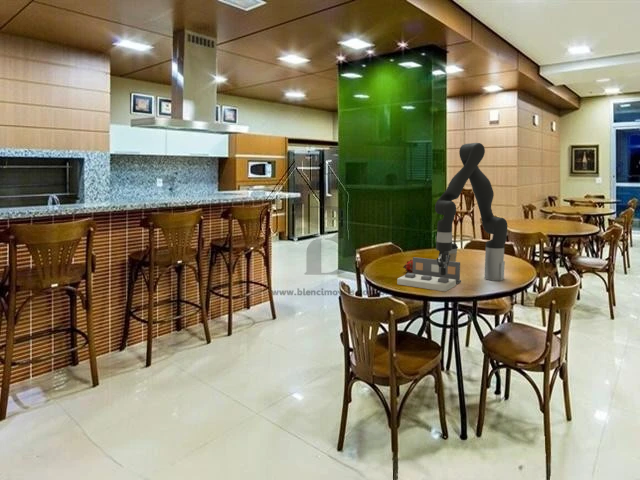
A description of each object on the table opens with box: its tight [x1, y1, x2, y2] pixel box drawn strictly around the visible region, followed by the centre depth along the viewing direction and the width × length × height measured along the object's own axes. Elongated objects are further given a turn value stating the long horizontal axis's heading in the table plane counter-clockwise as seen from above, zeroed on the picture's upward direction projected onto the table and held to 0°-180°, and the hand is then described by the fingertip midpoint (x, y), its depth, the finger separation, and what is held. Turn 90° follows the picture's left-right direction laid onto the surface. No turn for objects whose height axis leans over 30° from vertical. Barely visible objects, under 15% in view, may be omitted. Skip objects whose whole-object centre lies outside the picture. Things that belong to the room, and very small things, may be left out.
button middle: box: [421, 275, 432, 281], centre depth 230 cm, size 4×4×3 cm
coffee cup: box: [449, 242, 459, 262], centre depth 262 cm, size 9×9×15 cm
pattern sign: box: [412, 256, 462, 285], centre depth 239 cm, size 26×6×11 cm, turn 54°
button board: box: [396, 274, 457, 292], centre depth 230 cm, size 26×14×3 cm, turn 54°
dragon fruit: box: [402, 259, 413, 273], centre depth 257 cm, size 8×8×12 cm
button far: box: [404, 272, 415, 278], centre depth 235 cm, size 4×4×3 cm
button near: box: [438, 277, 449, 283], centre depth 224 cm, size 4×4×3 cm
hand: (443, 274), depth 224 cm, fingers closed
